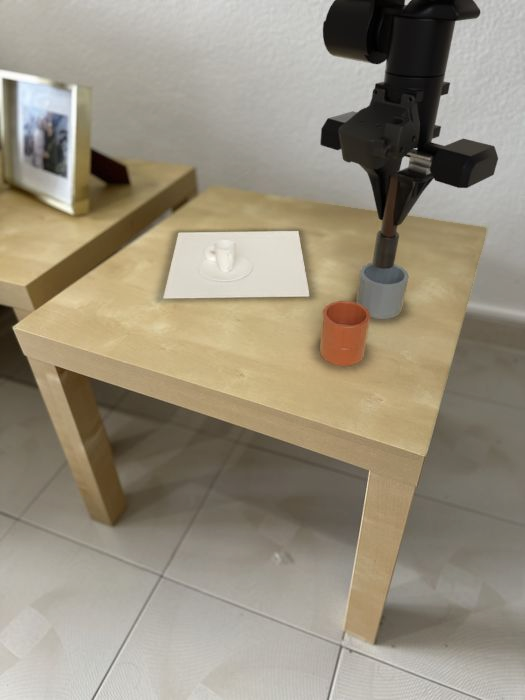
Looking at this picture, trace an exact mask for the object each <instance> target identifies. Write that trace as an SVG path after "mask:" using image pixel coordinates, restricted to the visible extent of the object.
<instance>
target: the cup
mask: <svg viewBox="0 0 525 700" xmlns="http://www.w3.org/2000/svg"><path fill="white" fill-rule="evenodd" d="M409 278H410V276H409V272H408V271H407V270H406V269H405V268H404V267H403V266H401V265H398V264H396V263H394V266H393V267H392V268H388V269H382V268H378V267H376V266H374V265H373V262H369V263H367V264H365V265H363V266H362V267H361V269H360V270H359V277H358V283H357V284H358V285H357V291H356V297H355V298H356V299H355V300H356V301H355V303H358V304H360V305H362V306H364V307H365V308H366V309H367V310H368V311H369V313H370V318H371V319H377V320H389V319H393V318H395V317H397V316H399V315H400V314H401V313H402V310H403V307H404V303H405V297H406V292H407V288H408V283H409Z"/></svg>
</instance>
